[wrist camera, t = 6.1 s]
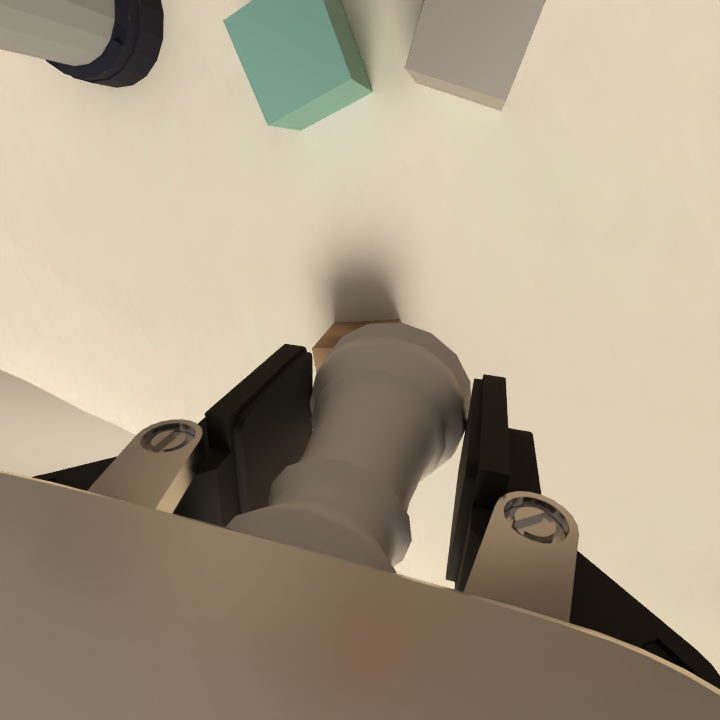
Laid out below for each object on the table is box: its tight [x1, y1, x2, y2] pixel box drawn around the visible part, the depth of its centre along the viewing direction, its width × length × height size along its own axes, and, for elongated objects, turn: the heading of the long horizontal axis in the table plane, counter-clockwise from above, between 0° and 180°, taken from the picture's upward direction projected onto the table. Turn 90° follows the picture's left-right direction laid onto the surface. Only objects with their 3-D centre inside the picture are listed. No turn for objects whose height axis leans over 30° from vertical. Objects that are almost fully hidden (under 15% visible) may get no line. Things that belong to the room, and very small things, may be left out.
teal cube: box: [224, 0, 372, 130], centre depth 24 cm, size 5×5×5 cm
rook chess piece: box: [226, 323, 471, 574], centre depth 9 cm, size 4×4×8 cm
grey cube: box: [405, 0, 546, 111], centre depth 21 cm, size 5×5×5 cm
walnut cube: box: [312, 319, 401, 371], centre depth 31 cm, size 5×5×5 cm
